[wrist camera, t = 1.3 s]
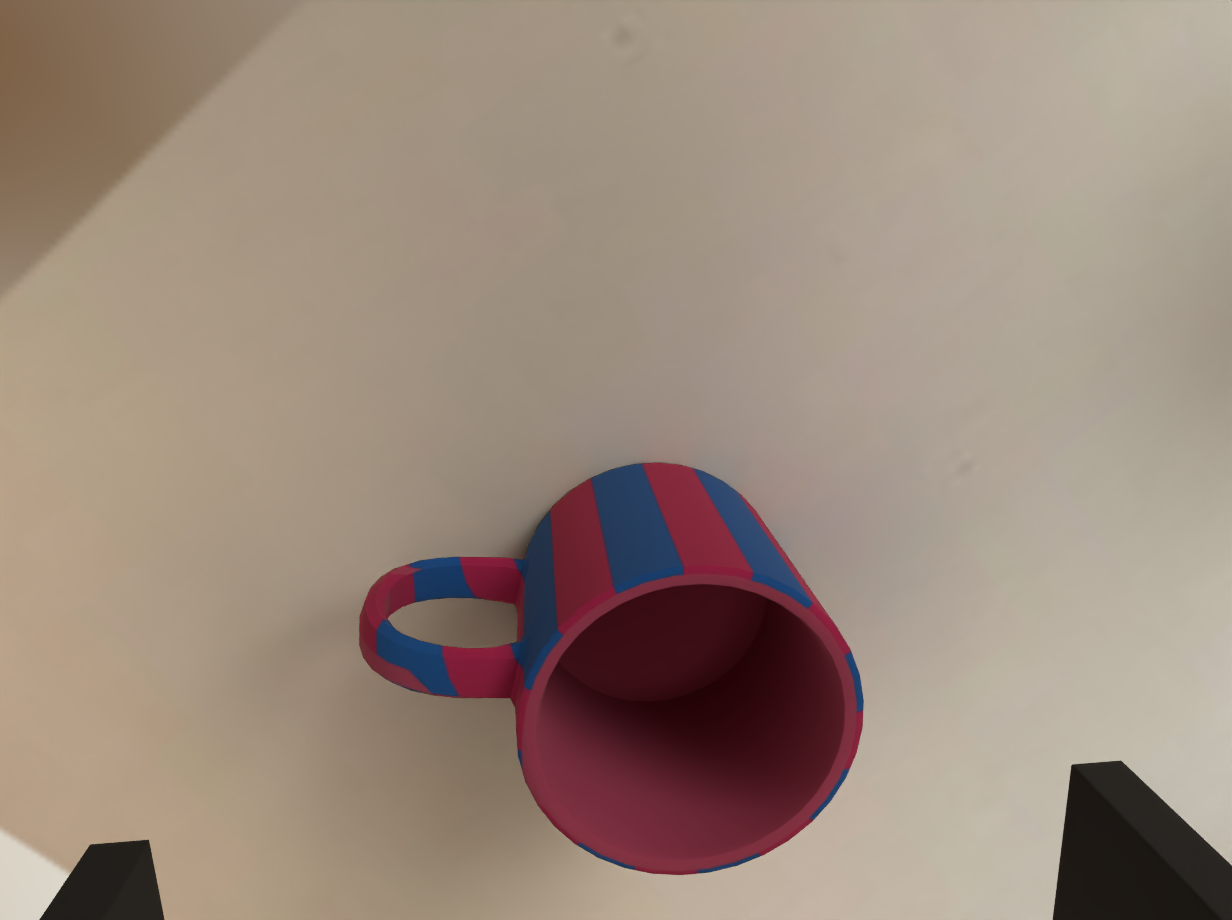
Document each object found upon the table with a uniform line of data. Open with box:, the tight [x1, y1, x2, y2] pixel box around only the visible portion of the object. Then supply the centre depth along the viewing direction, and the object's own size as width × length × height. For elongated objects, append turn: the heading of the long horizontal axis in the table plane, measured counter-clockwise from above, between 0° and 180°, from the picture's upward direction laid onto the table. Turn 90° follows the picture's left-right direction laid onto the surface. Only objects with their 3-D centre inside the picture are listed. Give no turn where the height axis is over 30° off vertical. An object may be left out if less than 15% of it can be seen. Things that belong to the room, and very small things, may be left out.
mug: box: [359, 463, 864, 875], centre depth 21 cm, size 7×10×7 cm
